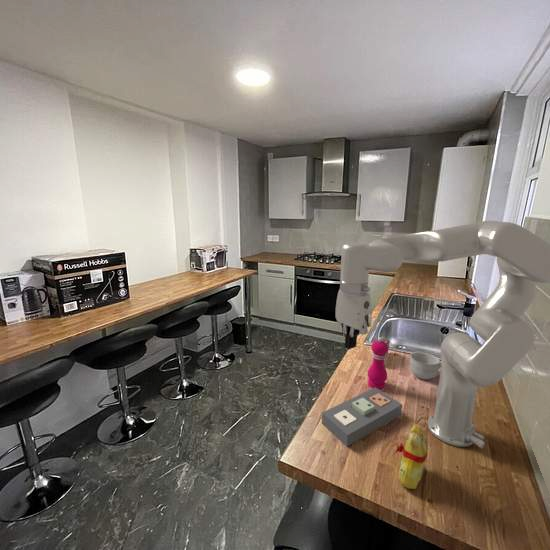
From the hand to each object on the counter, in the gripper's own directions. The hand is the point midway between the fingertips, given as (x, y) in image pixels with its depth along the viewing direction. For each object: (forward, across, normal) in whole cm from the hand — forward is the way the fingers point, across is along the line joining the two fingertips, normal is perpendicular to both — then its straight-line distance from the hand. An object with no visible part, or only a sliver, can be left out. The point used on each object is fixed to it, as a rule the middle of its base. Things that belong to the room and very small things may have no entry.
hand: (350, 346), depth 86 cm
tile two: (+25, -1, -7) cm, 26 cm away
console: (+27, -1, -6) cm, 28 cm away
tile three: (+27, -1, -15) cm, 30 cm away
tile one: (+26, -1, +1) cm, 27 cm away
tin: (+28, +20, -44) cm, 56 cm away
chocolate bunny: (+28, -21, -1) cm, 34 cm away
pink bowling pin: (+28, +9, -26) cm, 39 cm away
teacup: (+28, +1, -48) cm, 55 cm away
